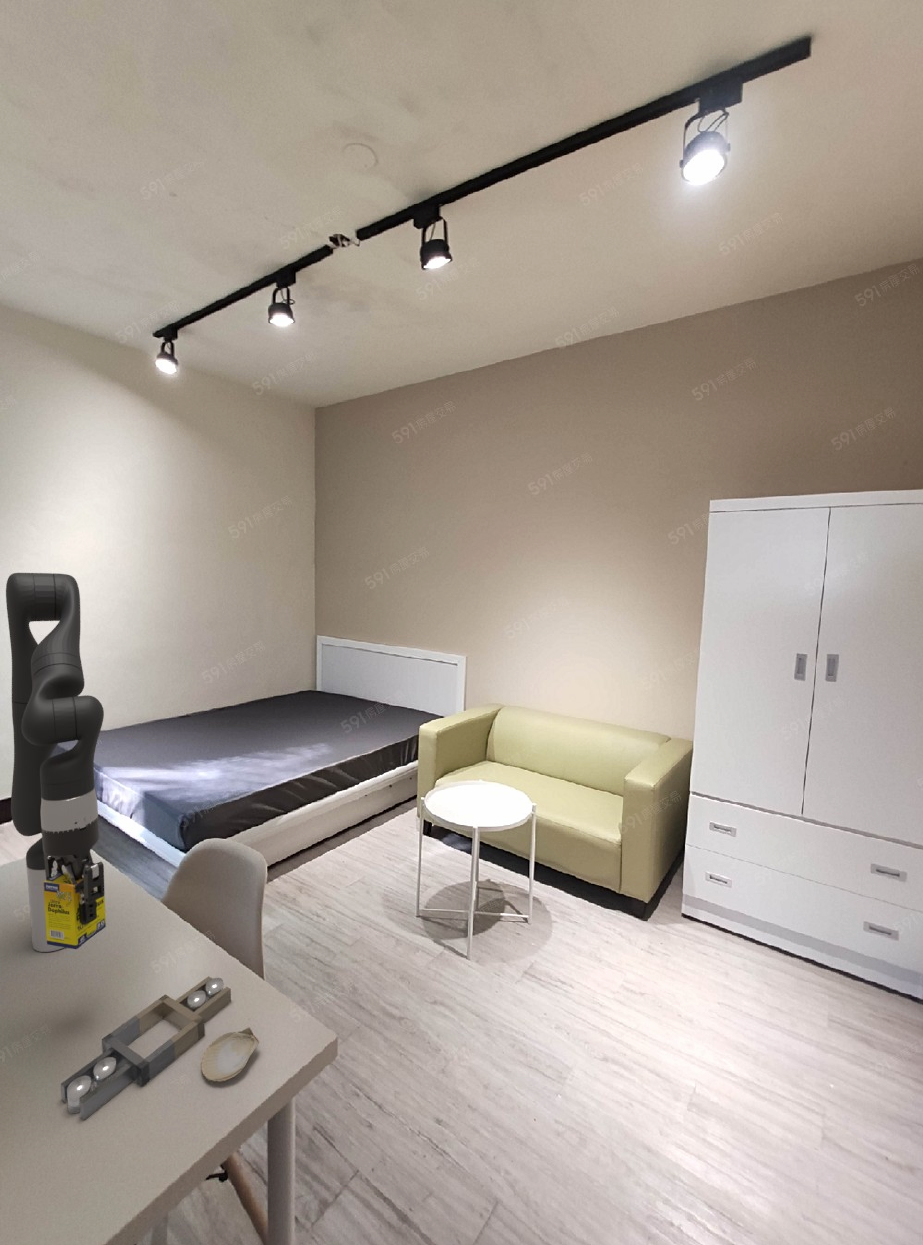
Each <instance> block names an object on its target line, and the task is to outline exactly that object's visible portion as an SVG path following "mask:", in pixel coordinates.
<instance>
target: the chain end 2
mask: <svg viewBox="0 0 923 1245" xmlns="http://www.w3.org/2000/svg"><path fill="white" fill-rule="evenodd" d="M231 990H232V989H231V988H230V987H229V986H226V987H224V979H223V978H222V977H214V978H212V977H211V976H207V977H206V978H204V979H203V980H202V981H200V982H198V983H197V984H196V985H194V986H193V987H192V988H191V989H189V990H188V991H186V992H185V993H183V994H182V995H181V996H179V997H178V998H177V999H173V998H172V997H170V996H168V995H167V994H164V995H162V996H161V997H159V998H158V999H156V1000H155V1001H153V1002H152V1003H151V1004H149V1005H148V1006H146V1007H145V1008H144V1009H142V1010H141V1011H140V1012H138V1013H136V1014H135V1015H134V1016H136V1017H138V1018H139V1020H140V1036H142V1035H143V1034H145V1033H146V1032H147V1031H148V1030H149V1029H151V1028H153V1027H154V1026H155V1025H156V1024H158V1023H159V1022H160V1021H162V1020H163V1019H165V1020H166V1021H168V1022H169V1023H171V1024H172V1025H173V1026H175V1027H177V1028H178V1029H179V1031H178V1032H176V1033H175V1034H174V1035H172V1036H171V1038H169V1039H170V1040H172V1041H173V1042H174V1047H175V1061H176V1060H177V1059H178V1058H179V1057H181V1056H182V1055H183V1054H185V1053H186V1051H188V1050H190V1048H191V1047H193V1046H194V1045H195V1044H197V1043H198V1042H199V1041H200V1040H201V1039H203V1038H204V1037H205V1036H206V1029H205V1024H206V1023H207V1022H208V1021H209V1020H211V1019H212V1018H213V1017H215V1015H217V1014H218V1013H220V1011H222V1010H223V1009H224V1008H225V1007H226V1006H228V1005H229V1004H230V1003H232V992H231Z"/></svg>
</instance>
